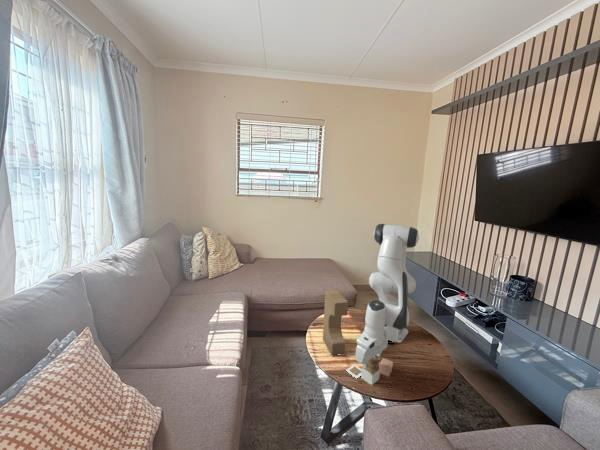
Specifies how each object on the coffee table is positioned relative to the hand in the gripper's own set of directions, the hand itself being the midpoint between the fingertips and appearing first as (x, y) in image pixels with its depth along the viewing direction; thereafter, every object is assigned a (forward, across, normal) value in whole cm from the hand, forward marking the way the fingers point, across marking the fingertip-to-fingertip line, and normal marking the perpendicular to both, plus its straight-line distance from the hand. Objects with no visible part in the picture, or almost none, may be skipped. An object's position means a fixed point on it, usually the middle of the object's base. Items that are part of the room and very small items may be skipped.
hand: (371, 363), depth 127 cm
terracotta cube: (+8, -10, +2) cm, 13 cm away
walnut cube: (+3, 0, 0) cm, 3 cm away
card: (+8, +2, -7) cm, 11 cm away
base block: (+8, 0, 0) cm, 8 cm away
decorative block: (+8, -4, -27) cm, 28 cm away
